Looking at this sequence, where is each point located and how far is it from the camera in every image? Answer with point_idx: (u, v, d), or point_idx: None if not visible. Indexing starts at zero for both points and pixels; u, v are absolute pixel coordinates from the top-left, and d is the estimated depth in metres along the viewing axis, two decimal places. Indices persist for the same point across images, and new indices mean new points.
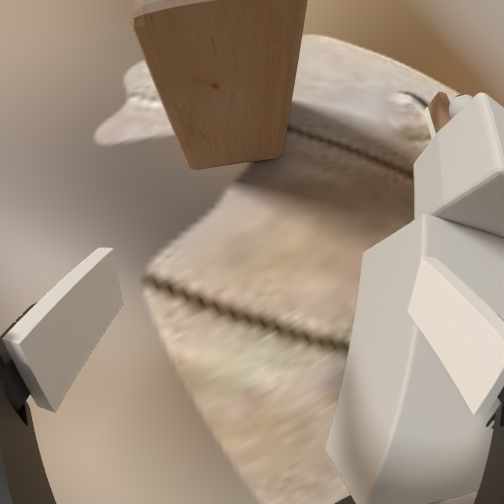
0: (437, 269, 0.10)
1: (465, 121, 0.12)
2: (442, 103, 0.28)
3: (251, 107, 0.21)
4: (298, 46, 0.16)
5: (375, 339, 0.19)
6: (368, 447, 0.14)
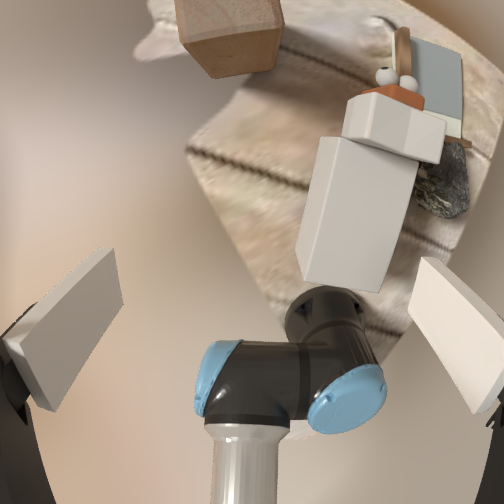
0: (437, 269, 0.10)
1: (364, 102, 0.26)
2: (402, 36, 0.33)
3: (252, 59, 0.32)
4: (279, 40, 0.26)
5: (316, 190, 0.39)
6: (308, 245, 0.38)
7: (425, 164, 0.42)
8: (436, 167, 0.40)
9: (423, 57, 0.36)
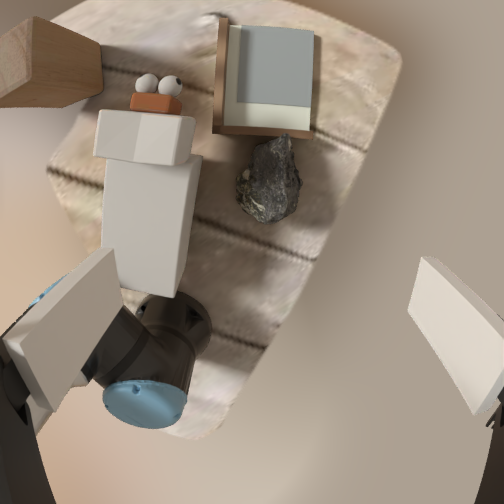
0: (437, 269, 0.10)
1: None
2: None
3: (58, 94, 0.33)
4: (50, 82, 0.27)
5: None
6: None
7: (249, 164, 0.43)
8: (255, 166, 0.41)
9: (257, 44, 0.38)
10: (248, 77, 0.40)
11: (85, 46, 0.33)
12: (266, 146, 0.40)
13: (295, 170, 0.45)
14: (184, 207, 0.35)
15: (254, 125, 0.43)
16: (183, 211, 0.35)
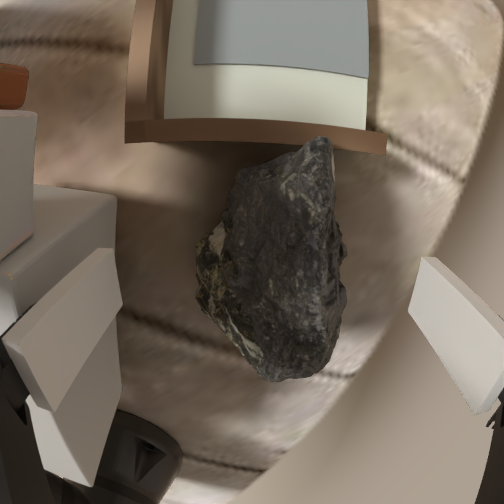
0: (438, 269, 0.10)
1: None
2: None
3: None
4: None
5: None
6: None
7: (224, 215, 0.18)
8: (236, 228, 0.16)
9: None
10: (221, 9, 0.14)
11: None
12: (266, 173, 0.14)
13: None
14: None
15: (237, 117, 0.17)
16: None
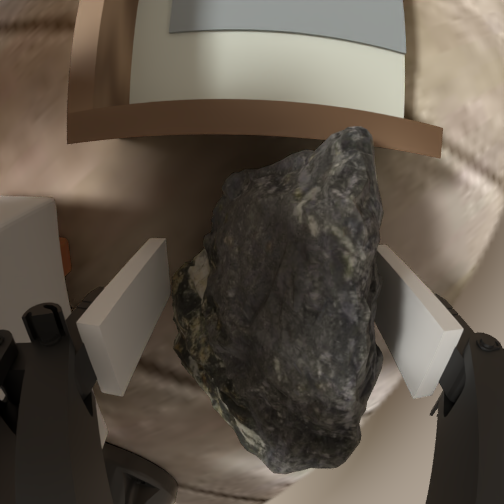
0: (384, 255, 0.12)
1: None
2: None
3: None
4: None
5: None
6: None
7: (208, 242, 0.12)
8: (223, 267, 0.10)
9: None
10: None
11: None
12: (269, 185, 0.09)
13: None
14: None
15: None
16: None
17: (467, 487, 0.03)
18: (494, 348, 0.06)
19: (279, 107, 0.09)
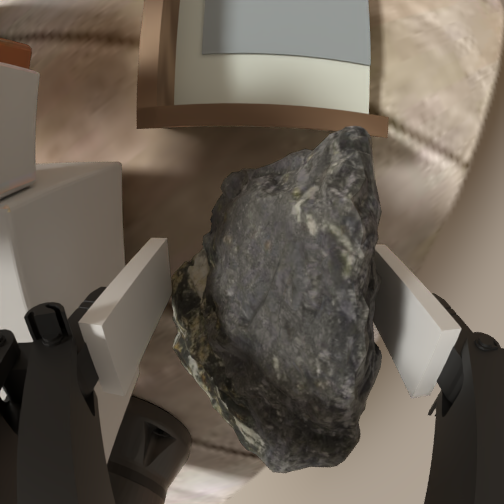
0: (382, 255, 0.12)
1: None
2: None
3: None
4: None
5: None
6: None
7: (207, 241, 0.12)
8: (222, 266, 0.10)
9: None
10: (227, 2, 0.15)
11: None
12: (268, 184, 0.09)
13: None
14: None
15: None
16: None
17: (465, 487, 0.03)
18: (492, 348, 0.06)
19: (277, 108, 0.15)
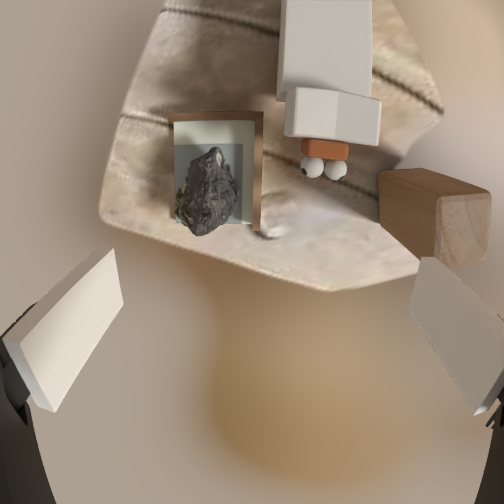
0: (437, 269, 0.10)
1: None
2: None
3: (418, 178, 0.38)
4: (420, 189, 0.33)
5: None
6: None
7: (186, 178, 0.45)
8: (188, 180, 0.42)
9: None
10: (232, 169, 0.47)
11: (391, 223, 0.44)
12: (197, 160, 0.41)
13: (232, 182, 0.46)
14: (284, 50, 0.29)
15: (224, 122, 0.44)
16: (284, 46, 0.29)
17: None
18: None
19: (209, 118, 0.41)
